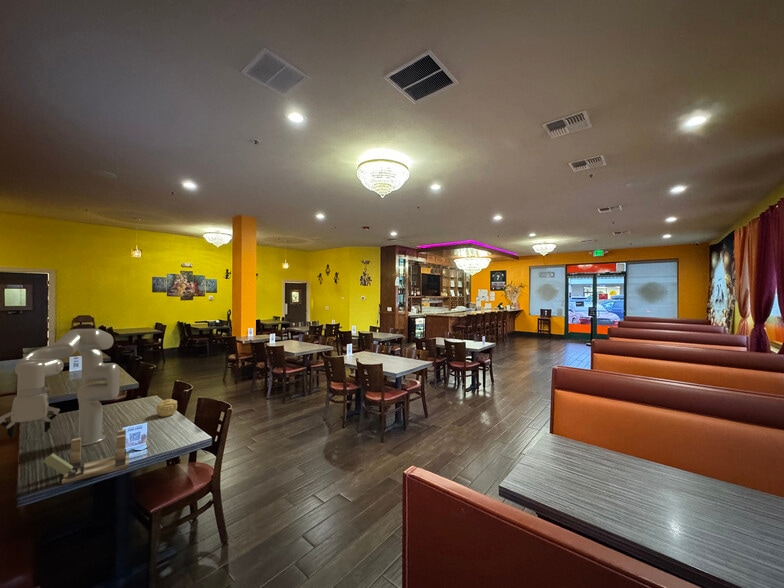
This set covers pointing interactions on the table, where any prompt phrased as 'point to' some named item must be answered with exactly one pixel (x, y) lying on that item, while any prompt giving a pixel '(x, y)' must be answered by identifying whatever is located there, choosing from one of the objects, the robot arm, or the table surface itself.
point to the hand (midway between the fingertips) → (29, 433)
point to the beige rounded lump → (166, 407)
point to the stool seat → (96, 466)
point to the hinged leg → (59, 464)
